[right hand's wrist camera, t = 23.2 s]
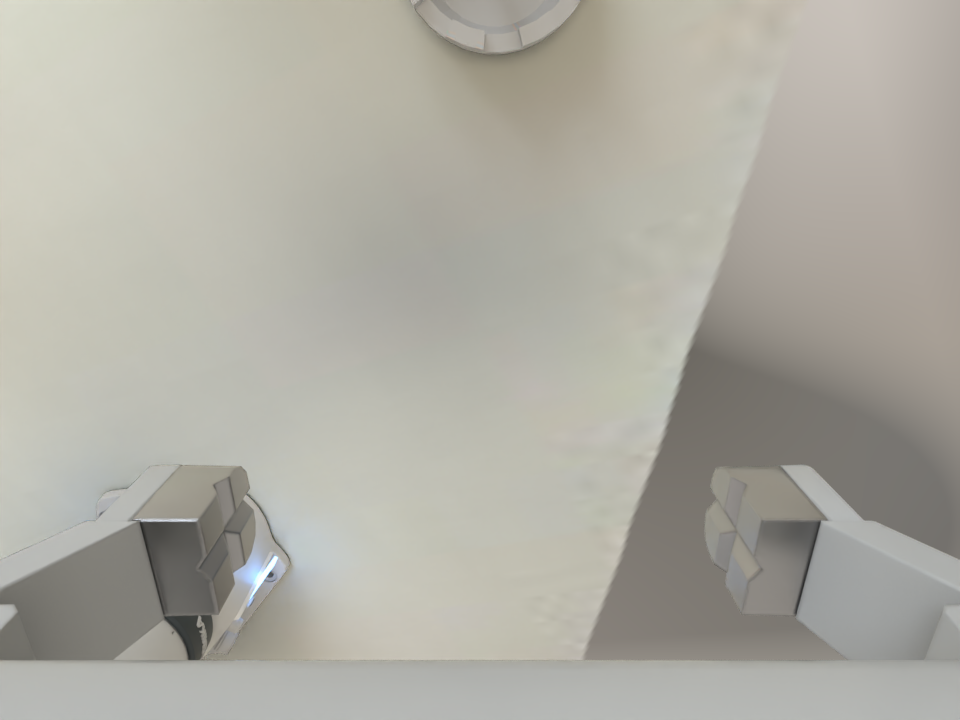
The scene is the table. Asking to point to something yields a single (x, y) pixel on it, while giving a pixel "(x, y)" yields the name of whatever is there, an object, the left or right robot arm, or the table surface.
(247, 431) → the table surface
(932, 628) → the right robot arm
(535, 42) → the flag stand
